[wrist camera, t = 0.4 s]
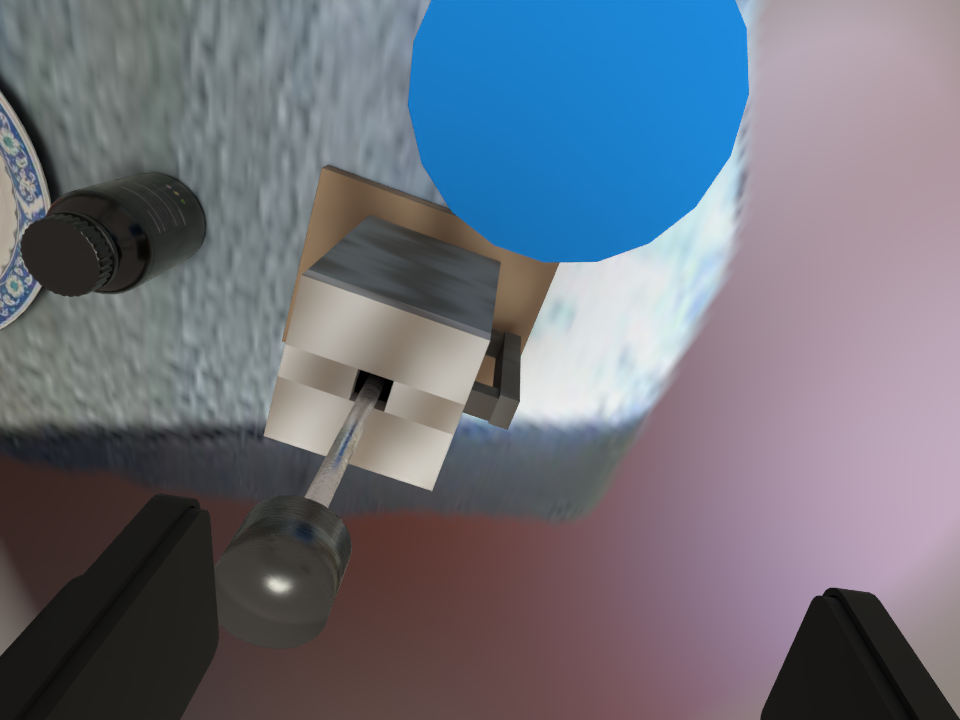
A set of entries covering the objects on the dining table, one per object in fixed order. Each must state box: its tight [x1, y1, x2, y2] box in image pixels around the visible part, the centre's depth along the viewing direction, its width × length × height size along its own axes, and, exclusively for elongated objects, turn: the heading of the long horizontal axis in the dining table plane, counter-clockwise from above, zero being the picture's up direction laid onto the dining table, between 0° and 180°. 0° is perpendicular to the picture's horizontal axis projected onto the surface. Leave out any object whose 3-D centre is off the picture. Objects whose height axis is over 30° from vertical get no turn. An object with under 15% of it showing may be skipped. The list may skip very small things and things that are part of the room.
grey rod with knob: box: [214, 373, 387, 649], centre depth 29 cm, size 4×4×20 cm
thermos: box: [408, 0, 749, 262], centre depth 31 cm, size 11×11×25 cm
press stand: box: [264, 165, 560, 491], centre depth 41 cm, size 18×14×16 cm
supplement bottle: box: [20, 173, 205, 297], centre depth 42 cm, size 7×7×12 cm
